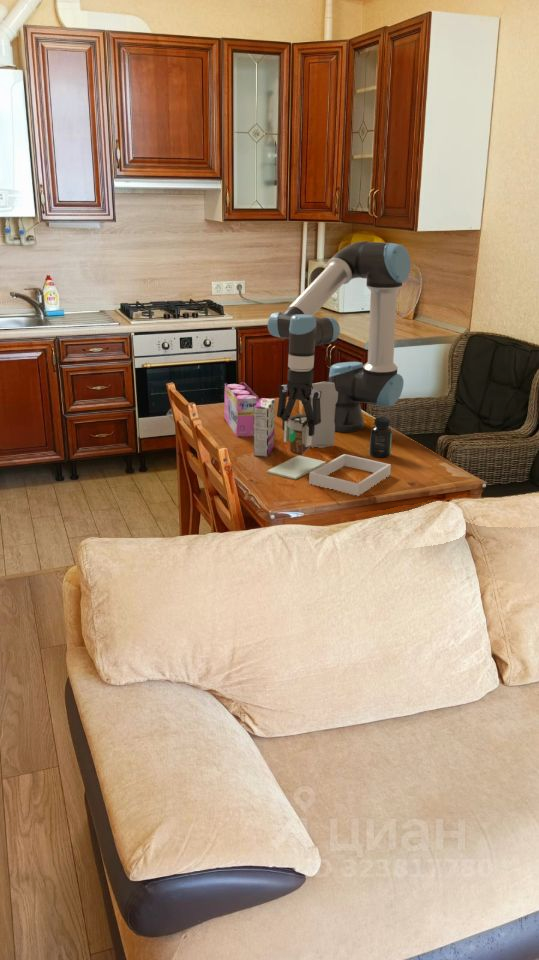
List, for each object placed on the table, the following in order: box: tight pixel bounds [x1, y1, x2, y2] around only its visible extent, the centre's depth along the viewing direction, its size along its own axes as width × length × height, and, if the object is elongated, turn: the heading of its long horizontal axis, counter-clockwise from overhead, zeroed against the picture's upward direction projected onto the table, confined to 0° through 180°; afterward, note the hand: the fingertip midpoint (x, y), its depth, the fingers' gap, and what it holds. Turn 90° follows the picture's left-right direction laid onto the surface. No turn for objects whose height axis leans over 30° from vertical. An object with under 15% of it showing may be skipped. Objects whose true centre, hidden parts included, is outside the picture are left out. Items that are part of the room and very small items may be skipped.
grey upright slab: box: [310, 381, 338, 449], centre depth 255 cm, size 11×4×22 cm, turn 106°
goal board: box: [266, 455, 326, 480], centre depth 239 cm, size 18×10×1 cm, turn 146°
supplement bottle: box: [368, 417, 393, 459], centre depth 250 cm, size 7×7×12 cm
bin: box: [308, 453, 392, 497], centre depth 230 cm, size 21×16×4 cm
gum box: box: [223, 381, 260, 438], centre depth 276 cm, size 24×8×14 cm, turn 15°
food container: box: [287, 413, 311, 456], centre depth 235 cm, size 12×6×10 cm, turn 161°
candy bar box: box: [253, 397, 276, 458], centre depth 250 cm, size 11×5×16 cm, turn 168°
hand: (297, 443), depth 236 cm, fingers closed on food container, 7 cm apart
